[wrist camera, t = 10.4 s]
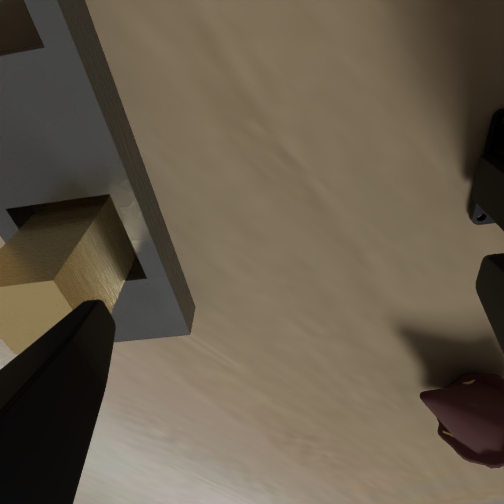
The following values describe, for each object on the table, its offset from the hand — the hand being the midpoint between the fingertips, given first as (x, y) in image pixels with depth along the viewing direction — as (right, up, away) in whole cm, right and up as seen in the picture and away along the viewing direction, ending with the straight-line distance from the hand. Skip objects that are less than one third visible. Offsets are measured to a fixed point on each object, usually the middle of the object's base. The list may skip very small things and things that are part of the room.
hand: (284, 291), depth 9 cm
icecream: (+18, -10, +23) cm, 31 cm away
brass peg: (-10, +3, +13) cm, 17 cm away
